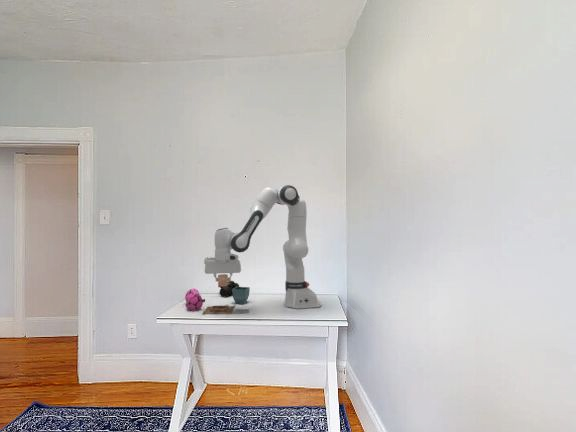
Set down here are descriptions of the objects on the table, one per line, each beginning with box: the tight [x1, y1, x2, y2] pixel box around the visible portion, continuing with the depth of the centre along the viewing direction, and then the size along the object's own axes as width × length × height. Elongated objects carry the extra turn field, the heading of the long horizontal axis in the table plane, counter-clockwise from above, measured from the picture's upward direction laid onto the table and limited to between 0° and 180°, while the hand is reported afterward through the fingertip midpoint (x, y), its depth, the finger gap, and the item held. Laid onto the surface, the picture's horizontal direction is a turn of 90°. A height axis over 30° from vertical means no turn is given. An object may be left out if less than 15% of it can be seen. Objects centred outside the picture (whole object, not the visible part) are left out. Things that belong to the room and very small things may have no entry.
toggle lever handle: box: [217, 273, 229, 288], centre depth 194 cm, size 10×5×6 cm, turn 15°
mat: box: [233, 308, 250, 315], centre depth 194 cm, size 8×8×1 cm
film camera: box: [217, 280, 240, 298], centre depth 235 cm, size 18×12×10 cm
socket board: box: [202, 304, 236, 315], centre depth 197 cm, size 16×16×2 cm
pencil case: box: [184, 288, 206, 312], centre depth 206 cm, size 21×10×10 cm, turn 23°
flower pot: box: [232, 286, 251, 305], centre depth 215 cm, size 9×9×9 cm
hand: (223, 281), depth 197 cm, fingers closed on toggle lever handle, 5 cm apart
